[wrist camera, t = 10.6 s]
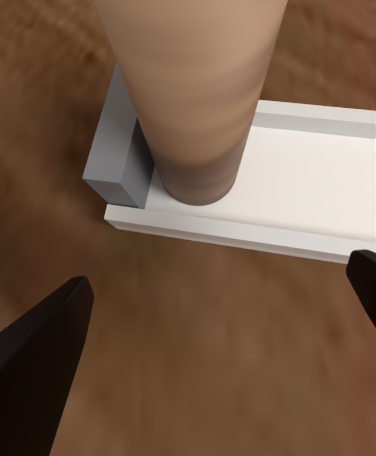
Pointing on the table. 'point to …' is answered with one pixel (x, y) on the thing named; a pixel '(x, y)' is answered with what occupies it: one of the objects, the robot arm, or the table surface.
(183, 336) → the table surface
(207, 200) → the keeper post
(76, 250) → the table surface
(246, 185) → the guide track
